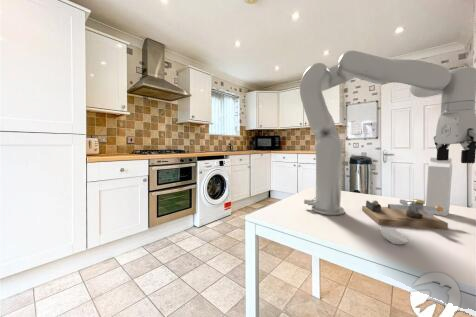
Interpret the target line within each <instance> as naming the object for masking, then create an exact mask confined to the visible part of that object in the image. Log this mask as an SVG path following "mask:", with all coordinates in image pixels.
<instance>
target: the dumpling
mask: <svg viewBox="0 0 476 317" xmlns="http://www.w3.org/2000/svg"><path fill="white" fill-rule="evenodd" d="M380 232H381V235H382V236H383V238H385V240H386V241H389V242H391V243H392V244H394V245H402V244H406V243H408V242H409V240H408V238H406V236H403V235H402V234H401V233H399V231H398V230H397V229H396V228H391V227H387V226H383V227H380Z"/></svg>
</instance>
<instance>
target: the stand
mask: <svg viewBox="0 0 476 317" xmlns="http://www.w3.org/2000/svg"><path fill="white" fill-rule="evenodd" d="M361 208H362V210H361V211H362V212H363V213H364V214H365V215H367V216H368V217H369V218H370V219H371V220H372V221H374V222H375V223H376V224H377V225H380V226H396V227H407V228H408V227H410V228H422V229H424V228H425V229H426V228H427V229H439V230H448V227H449V223H448V222H446V221H444V220H443V219H440V218H438V217H436V216H434V215H433V218H428V217H426V216H424V215H423V218H422V219H415V218H410V217H408V216H406V210H400V209H389V208H388V206H382V205H381V204H380V203H379V202H378V201H377V200H376V199H373V200H372V201H369V200H366V202H365V205H362V206H361Z"/></svg>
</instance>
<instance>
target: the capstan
mask: <svg viewBox="0 0 476 317" xmlns="http://www.w3.org/2000/svg"><path fill="white" fill-rule="evenodd" d="M399 203H400V204H397V203H396V204H395V203H393V204H391V203H388V204H387V207H388V208H389V209H400V210H406V216H408V217H410V218H415V219H422V218H423V215H424V216H426V217H428V218H433V216H434V214H433V213H431V212H429V211H437V212H443V207H441V206H426V200H424V199H423V200H422V199H417V198H416V199H413V200H406V199H399Z"/></svg>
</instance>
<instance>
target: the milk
mask: <svg viewBox="0 0 476 317" xmlns="http://www.w3.org/2000/svg"><path fill="white" fill-rule="evenodd" d="M427 166H428V167H427V178H426V179H427V181H426V183H427V184H426V199H425V206H441V207H443V212H437V211H429V212H431V213H433V215H437V216H441V217H442V216H443V217H447V216H448V214H450V204H451V203H450V202H451V191H452V190H451V187H452V177H453V176H452V175H453V164H452V158H450V157H448V160H447V161H439V160H437V157H430V161H429V163H428V165H427Z"/></svg>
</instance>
